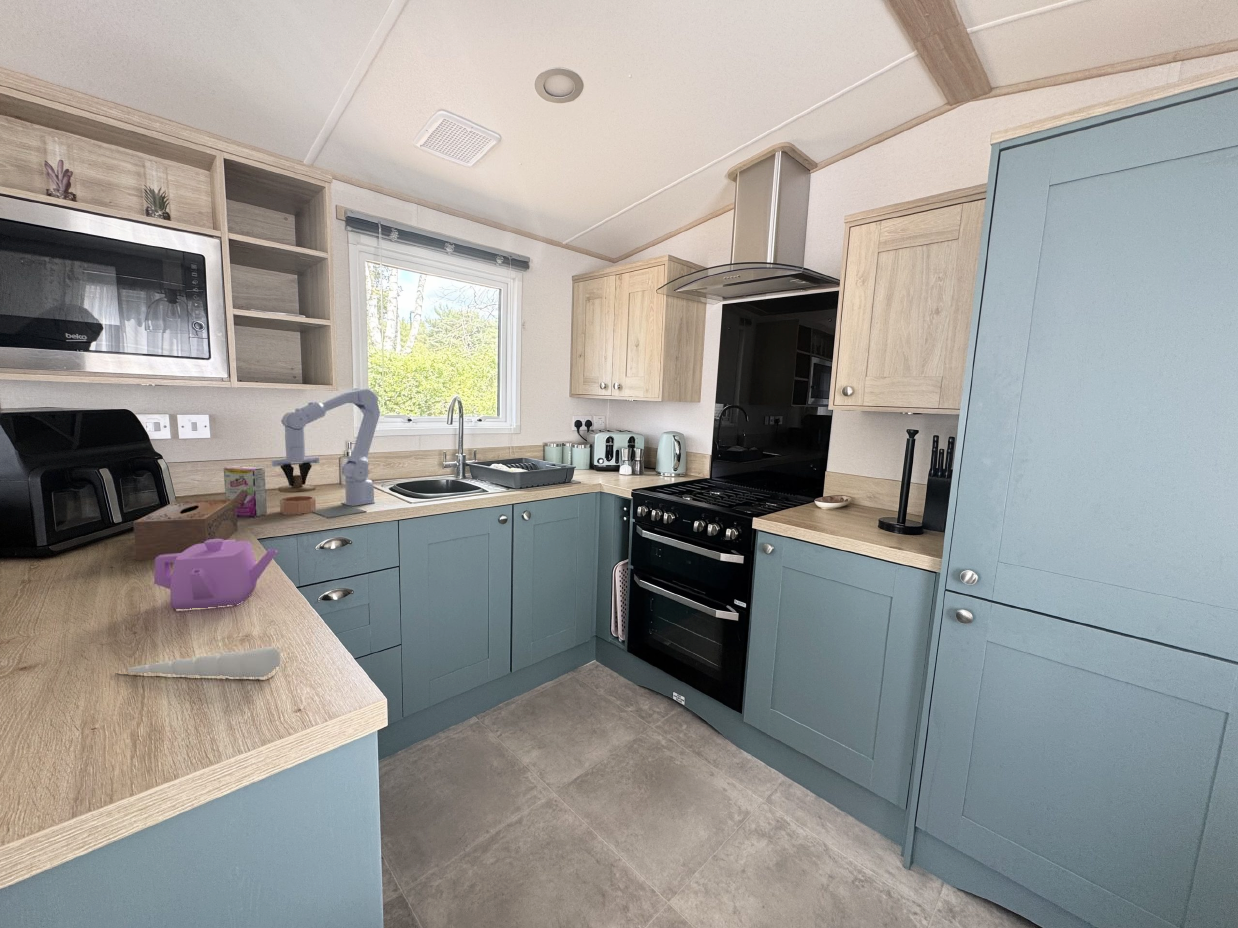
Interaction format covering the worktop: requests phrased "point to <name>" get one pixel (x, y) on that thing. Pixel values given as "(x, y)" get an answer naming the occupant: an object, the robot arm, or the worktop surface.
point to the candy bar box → (246, 489)
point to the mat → (339, 511)
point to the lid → (297, 486)
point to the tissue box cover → (184, 526)
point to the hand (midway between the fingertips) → (297, 484)
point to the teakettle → (211, 573)
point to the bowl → (297, 504)
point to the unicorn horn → (220, 664)
